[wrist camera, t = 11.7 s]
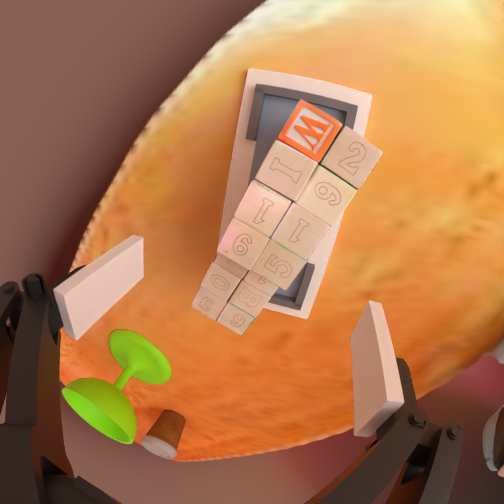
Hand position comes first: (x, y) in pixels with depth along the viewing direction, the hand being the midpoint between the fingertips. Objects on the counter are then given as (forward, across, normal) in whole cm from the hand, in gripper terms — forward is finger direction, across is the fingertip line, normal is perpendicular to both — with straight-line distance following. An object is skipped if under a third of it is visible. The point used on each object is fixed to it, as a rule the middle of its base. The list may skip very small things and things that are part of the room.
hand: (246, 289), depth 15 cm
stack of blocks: (+18, 0, 0) cm, 18 cm away
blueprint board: (+19, 0, 0) cm, 19 cm away
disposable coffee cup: (+20, +14, +60) cm, 65 cm away
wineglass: (+20, +22, +39) cm, 49 cm away
